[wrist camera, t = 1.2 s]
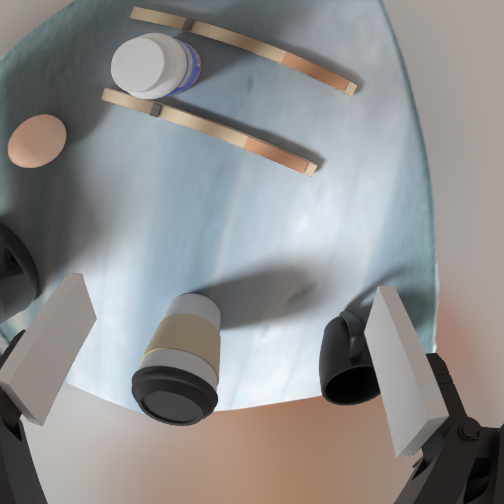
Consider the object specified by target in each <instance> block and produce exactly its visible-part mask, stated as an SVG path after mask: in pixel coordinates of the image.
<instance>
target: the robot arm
mask: <svg viewBox="0 0 504 504" xmlns="http://www.w3.org/2000/svg"><path fill="white" fill-rule="evenodd" d="M37 292H38V276H37V272H36V269H35V266H34V263H33V261H32V259H31V257H30V255H29V253H28V252H27V250H26V248H25V247H24V245H23V244H22V243H21V241H20V240H19V239H18V238H17V237H16V236H15V235H14V234H13V233H12V232H11V231H10V230H9V229H8V228H6V227H5V226H3V225H2V224H0V324H1V323H3V322H4V321H6V320H7V319H9V318H11V317H12V316H14V315H15V314H17V313H19V312H20V311H23V310H25V309H26V308H27V307H28V306H29V305H30V304H31V302H32V301H33V300H34V299H35V297H36V295H37ZM96 319H97V318H96V315H95V312H94V309H93V306H92V303H91V301H90V297H89V294H88V291H87V288H86V285H85V282H84V279H83V275H82V274H79V273H68V275H67V276H66V277H65V279H64V280H63V281H62V282H61V284H60V285H59V286H58V287H57V289H56V290H55V291H54V293H53V294H52V295H51V297H50V298H49V299H48V301H47V302H46V303H45V305H44V306H43V307H42V309H41V310H40V312H39V313H38V314H37V316H36V317H35V318H34V320H33V321H32V323H31V324H30V326H29V327H28V328H27V330H22V331H21V332H20V333H18V334H17V335H16V336H15V337H14V338H13V340H12V341H11V343H10V344H9V347H7V348H6V350H5V351H4V354H3V355H2V356H1V358H0V504H48V503H47V501H46V498H45V496H44V493H43V490H42V488H41V485H40V482H39V479H38V476H37V473H36V470H35V467H34V464H33V461H32V457H31V454H30V450H29V446H28V443H27V439H26V435H25V431H24V428H23V423H22V421H21V420H20V416H21V414H23V415H24V416H25V417H26V419H27V420H28V421H29V422H32V423H34V424H37V425H40V426H43V424H44V422H45V420H46V418H47V416H48V413H49V411H50V409H51V407H52V405H53V402H54V400H55V398H56V396H57V394H58V392H59V390H60V388H61V386H62V384H63V382H64V380H65V378H66V376H67V374H68V372H69V370H70V368H71V366H72V364H73V362H74V360H75V358H76V356H77V354H78V352H79V350H80V349H81V347H82V345H83V343H84V341H85V339H86V337H87V336H88V334H89V332H90V330H91V328H92V327H93V325H94V323H95V321H96ZM364 334H365V337H366V341H367V344H368V347H369V351H370V354H371V358H372V361H373V365H374V369H375V372H376V376H377V380H378V384H379V387H380V391H381V395H382V399H383V403H384V407H385V411H386V415H387V419H388V424H389V428H390V432H391V436H392V441H393V446H394V450H395V455H396V458H399V457H404V456H410V455H414V454H415V453H417V452H418V450H419V449H420V448H421V447H422V451H423V456H422V457H421V458H420V459H419V460H418V461H417V462H416V463H415V464H414V465H413V466H412V467H413V468H415V467H416V468H415V470H414V472H413V473H412V475H411V477H410V478H409V480H408V482H407V483H406V485H405V487H404V488H403V490H402V492H401V493H400V495H399V497H398V498H397V500H396V501H395V503H394V504H504V424H503V425H502V426H501V427H500V428H488V427H481V426H480V424H479V423H478V422H477V421H476V420H475V419H473V418H470V417H468V416H467V414H466V412H465V410H464V407H463V405H462V402H461V400H460V397H459V395H458V392H457V390H456V387H455V385H454V384H453V380H452V378H451V375H449V371H448V369H447V366H446V364H445V362H444V361H443V360H442V359H441V358H440V357H439V356H438V354H437V353H429V354H425V352H424V350H423V347H422V345H421V343H420V340H419V338H418V336H417V334H416V331H415V329H414V327H413V325H412V323H411V320H410V318H409V316H408V314H407V312H406V310H405V308H404V305H403V303H402V301H401V299H400V297H399V295H398V293H397V291H396V289H395V287H394V286H378V288H377V291H376V295H375V298H374V302H373V305H372V309H371V312H370V315H369V319H368V322H367V325H366V328H365V331H364Z"/></svg>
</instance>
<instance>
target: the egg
mask: <svg viewBox="0 0 504 504" xmlns="http://www.w3.org/2000/svg"><path fill="white" fill-rule="evenodd" d="M65 141H66V129H65V126H64V125H63V123H62V122H61V121H60V120H59V119H58V118H56V117H54V116H52V115H47V114H43V115H37V116H34V117H31V118H29V119H27V120H26V121H24V122H23V123H22V124H20V125H19V127H18V128H17V129H16V130H15V131H14V132H13V134H12V136H11V138H10V140H9V143H8V155H9V157H10V160H11V161H12V162H13V163H14V164H16V165H18V166H21V167H25V168H36V167H40V166H43V165H45V164H47V163H49V162H51V161H52V160H53V159H54V158H56V157H57V156H58V155H59V153H60V152H61V151H62V149H63V147H64V144H65Z"/></svg>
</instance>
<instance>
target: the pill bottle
mask: <svg viewBox="0 0 504 504" xmlns="http://www.w3.org/2000/svg"><path fill="white" fill-rule="evenodd" d="M200 72H201V59H200V56H199V54H198V52H197V51H196V50H195V49H194V48H193V47H192V46H191V45H189V44H187V43H185V42H182V41H180V40H178V39H175V38H173V37H171V36H168V35H166V34H162V33H147V34H144V35H141V36H139V37H137V38H133V39H130V40H128V41H126V42H125V43H124V44H122V45H121V46H120V47H119V48H118V49H117V51H116V52H115V54H114V56H113V59H112V62H111V74H112V77H113V79H114V81H115V83H116V84H117V85H118V86H119V87H120V88H122V89H123V90H125V91H127V92H128V93H129V94H131V95H132V96H135V97H137V98H140V99H156V98H161V97H165V96H170V95H175V94H179V93H182V92H184V91H186V90H187V89H189V88H190V87H191V86H192V85H193V84H194V83H195V82H196V81H197V79H198V77H199V75H200Z"/></svg>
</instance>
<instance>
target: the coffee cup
mask: <svg viewBox="0 0 504 504" xmlns="http://www.w3.org/2000/svg"><path fill="white" fill-rule="evenodd" d="M220 322H221V313H220V310H219V308H218V306H217V305H216V304H215V303H214V302H213V301H212V300H211V299H209V298H207V297H205V296H203V295H199V294H193V293H188V294H183V295H180V296H178V297H176V298H175V299H174V300H173V301H172V302H171V304H170V306H169V308H168V310H167V312H166V314H165V316H164V318H163V320H162V321H161V322H160V324H159V326H158V328H157V330H156V332H155V334H154V336H153V338H152V340H151V341H150V343H149V345H148V347H147V349H146V351H145V353H144V355H143V357H142V359H141V365H140V367H139V369H138V371H137V372H136V373H135V374H134V375H133V377H132V394H133V397H134V398H135V400H136V401H137V403H138V404H139V407H140V408H141V410H142V411H143V412H144V413H145V414H147V415H148V416H150V417H151V418H153V419H155V420H157V421H160V422H163V423H166V424H170V425H176V426H177V425H178V426H188V425H193V424H196V423H198V422H199V421H200V420H201V419H204V418H206V417H207V416H209V415H210V414H211V413H212V412H213V410H214V408H215V407H216V405H217V403H218V395H217V393H216V390H217V385H218V382H219V363H220V341H221V339H220Z"/></svg>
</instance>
